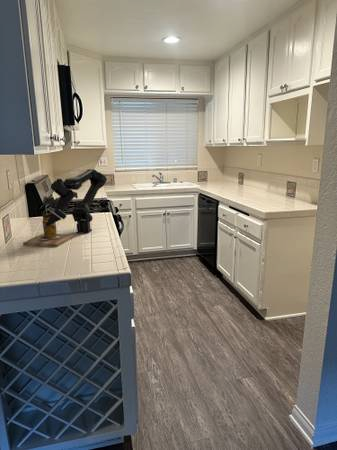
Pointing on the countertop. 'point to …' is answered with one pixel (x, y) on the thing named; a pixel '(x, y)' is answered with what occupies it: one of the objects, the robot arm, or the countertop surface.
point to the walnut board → (48, 241)
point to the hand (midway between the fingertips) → (44, 224)
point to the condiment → (48, 228)
